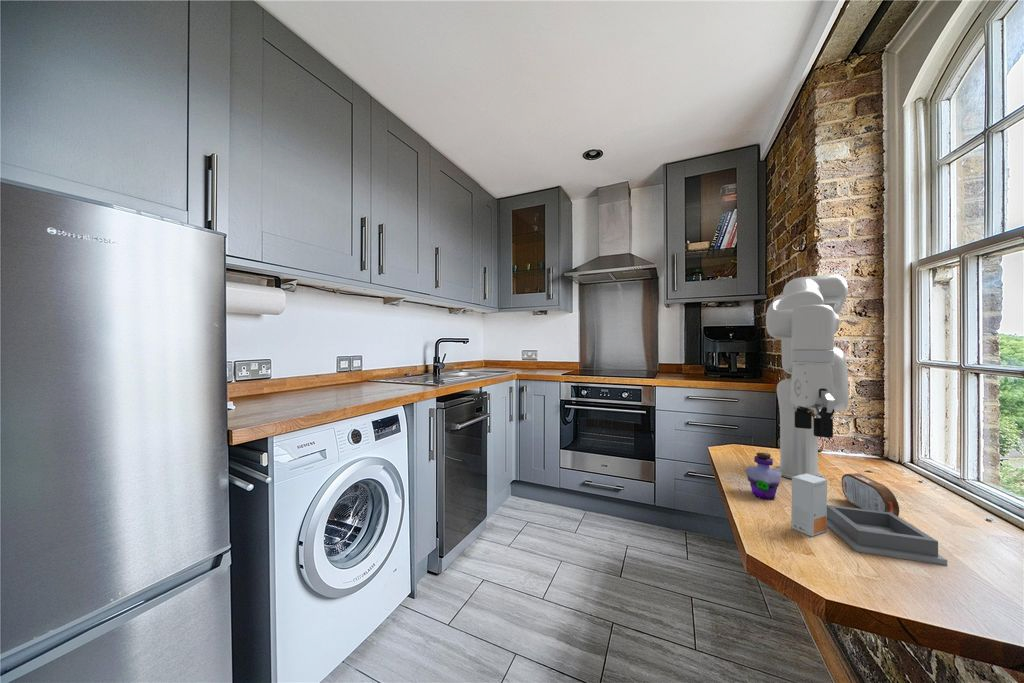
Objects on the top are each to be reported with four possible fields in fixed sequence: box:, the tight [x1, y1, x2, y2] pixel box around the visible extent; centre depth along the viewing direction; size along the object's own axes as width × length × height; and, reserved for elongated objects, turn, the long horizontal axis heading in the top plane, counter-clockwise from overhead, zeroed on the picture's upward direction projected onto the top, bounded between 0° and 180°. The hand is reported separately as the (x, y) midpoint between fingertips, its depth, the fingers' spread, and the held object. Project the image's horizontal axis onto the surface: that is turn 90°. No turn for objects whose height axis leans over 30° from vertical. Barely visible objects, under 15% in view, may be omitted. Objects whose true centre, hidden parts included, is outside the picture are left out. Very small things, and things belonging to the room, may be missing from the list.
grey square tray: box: [827, 504, 948, 566], centre depth 75 cm, size 14×14×4 cm
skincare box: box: [790, 474, 828, 537], centre depth 79 cm, size 6×4×12 cm
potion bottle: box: [745, 452, 782, 501], centre depth 97 cm, size 9×9×12 cm
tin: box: [841, 472, 900, 517], centre depth 89 cm, size 15×3×8 cm, turn 168°
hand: (812, 432), depth 80 cm, fingers open, 9 cm apart
